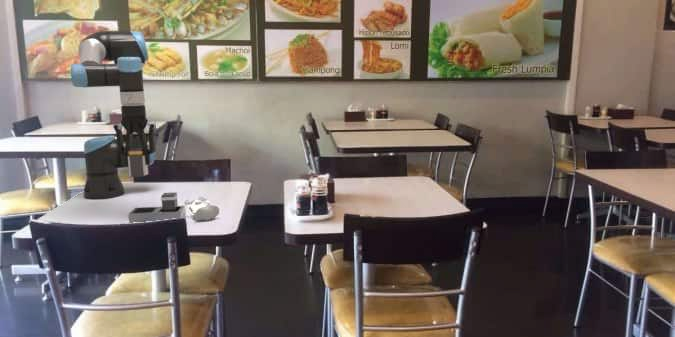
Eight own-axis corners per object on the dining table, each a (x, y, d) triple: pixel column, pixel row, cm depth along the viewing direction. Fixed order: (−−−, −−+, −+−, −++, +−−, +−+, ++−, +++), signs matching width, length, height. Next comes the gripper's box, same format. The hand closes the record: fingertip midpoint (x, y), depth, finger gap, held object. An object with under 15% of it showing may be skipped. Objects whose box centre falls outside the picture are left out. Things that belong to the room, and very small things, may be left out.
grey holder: (136, 222, 187) (134, 192, 185) (186, 220, 188) (184, 190, 187) (129, 229, 179) (127, 198, 178) (181, 227, 181) (179, 196, 179)
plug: (134, 174, 194) (132, 148, 192) (147, 174, 194) (145, 147, 192) (130, 176, 190) (128, 150, 188) (143, 176, 190) (141, 149, 188)
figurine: (194, 211, 183) (180, 198, 192) (195, 228, 185) (182, 215, 194) (221, 204, 188) (206, 192, 197) (222, 222, 190) (207, 209, 200)
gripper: (102, 106, 183) (109, 177, 188) (156, 104, 184) (161, 176, 188) (110, 104, 191) (117, 173, 195) (162, 103, 191) (167, 171, 195)
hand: (138, 174), depth 192 cm, fingers closed on plug, 4 cm apart
